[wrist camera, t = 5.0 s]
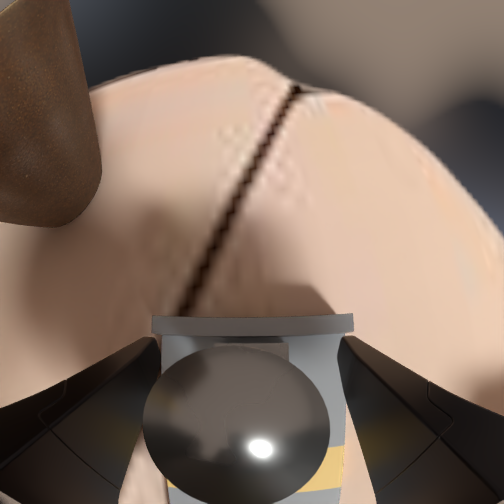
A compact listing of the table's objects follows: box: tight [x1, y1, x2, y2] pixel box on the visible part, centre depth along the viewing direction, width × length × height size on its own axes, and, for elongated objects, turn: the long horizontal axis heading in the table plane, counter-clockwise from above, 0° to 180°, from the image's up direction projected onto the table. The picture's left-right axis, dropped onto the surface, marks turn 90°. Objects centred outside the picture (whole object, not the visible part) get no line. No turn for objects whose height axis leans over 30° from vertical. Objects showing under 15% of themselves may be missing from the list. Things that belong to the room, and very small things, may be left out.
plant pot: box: [0, 0, 102, 227], centre depth 12 cm, size 15×15×16 cm
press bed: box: [152, 313, 354, 504], centre depth 12 cm, size 16×10×2 cm, turn 0°
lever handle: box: [143, 343, 330, 504], centre depth 9 cm, size 3×3×11 cm
